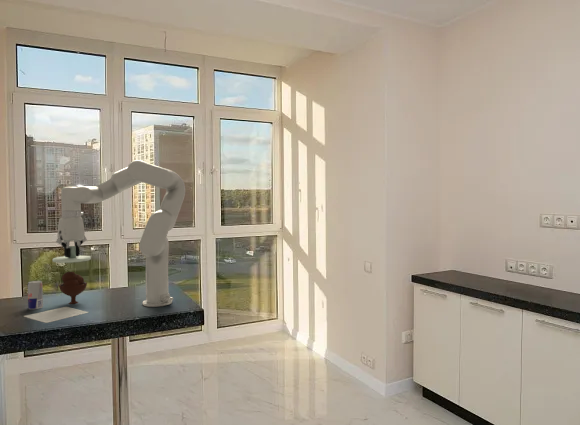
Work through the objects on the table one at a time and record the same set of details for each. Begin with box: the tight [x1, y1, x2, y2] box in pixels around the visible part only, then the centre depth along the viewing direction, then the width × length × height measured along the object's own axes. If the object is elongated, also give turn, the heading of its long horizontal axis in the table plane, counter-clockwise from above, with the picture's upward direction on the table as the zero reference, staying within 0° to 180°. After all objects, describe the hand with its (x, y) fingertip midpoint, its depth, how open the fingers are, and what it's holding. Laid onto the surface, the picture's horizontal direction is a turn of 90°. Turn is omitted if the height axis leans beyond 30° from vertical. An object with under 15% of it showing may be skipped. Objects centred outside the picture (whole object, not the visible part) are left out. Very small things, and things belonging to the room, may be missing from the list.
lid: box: [52, 245, 92, 264], centre depth 184 cm, size 15×15×6 cm
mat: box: [22, 306, 90, 324], centre depth 167 cm, size 17×17×1 cm
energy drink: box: [27, 280, 44, 310], centre depth 177 cm, size 5×5×12 cm
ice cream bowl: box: [58, 271, 88, 305], centre depth 185 cm, size 11×11×15 cm
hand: (72, 256), depth 184 cm, fingers closed on lid, 3 cm apart
